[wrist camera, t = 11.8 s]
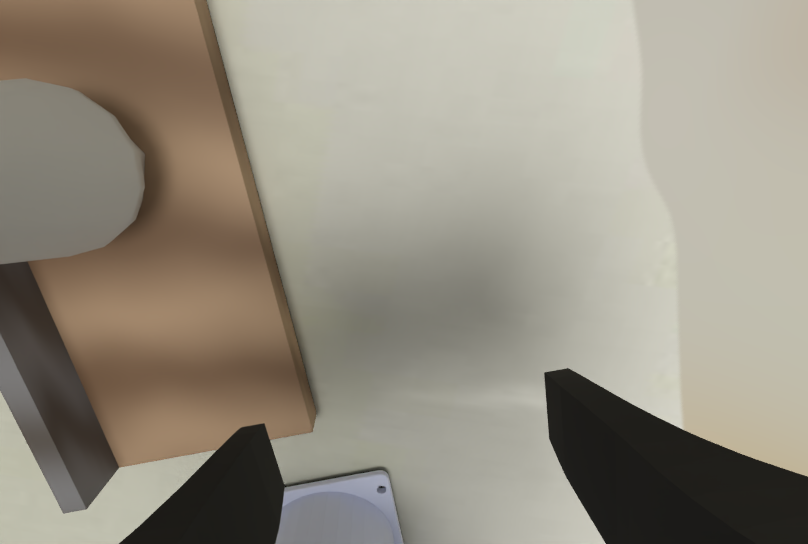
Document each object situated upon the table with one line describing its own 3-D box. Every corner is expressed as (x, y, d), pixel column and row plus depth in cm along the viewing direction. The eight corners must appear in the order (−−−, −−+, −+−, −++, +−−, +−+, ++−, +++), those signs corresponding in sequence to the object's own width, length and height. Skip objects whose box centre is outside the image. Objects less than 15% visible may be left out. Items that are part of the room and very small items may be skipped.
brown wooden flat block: (316, 413, 23) (304, 468, 19) (112, 450, 23) (58, 514, 19) (198, -27, 17) (146, -76, 13) (-79, 21, 17) (-215, -15, 13)
